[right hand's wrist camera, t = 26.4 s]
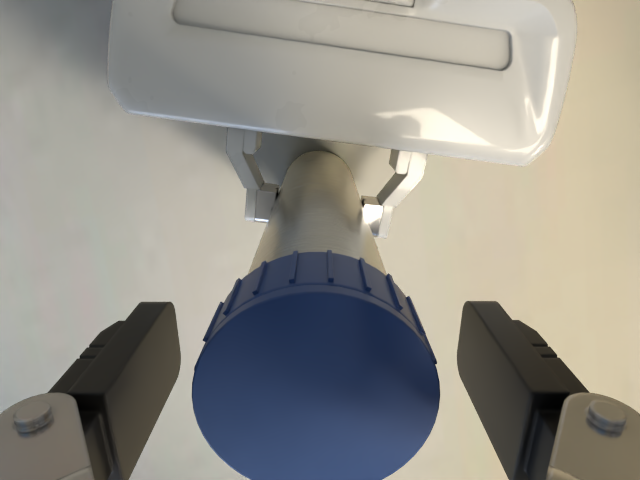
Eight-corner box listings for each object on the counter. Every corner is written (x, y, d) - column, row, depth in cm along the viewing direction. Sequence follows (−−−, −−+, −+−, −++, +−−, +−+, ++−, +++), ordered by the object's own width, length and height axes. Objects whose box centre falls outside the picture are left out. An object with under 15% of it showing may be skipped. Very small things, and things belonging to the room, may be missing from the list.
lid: (202, 410, 12) (177, 480, 10) (225, 228, 10) (200, 265, 8) (391, 439, 12) (406, 512, 10) (445, 268, 10) (477, 314, 8)
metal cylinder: (319, 230, 29) (319, 483, 11) (270, 186, 28) (175, 380, 10) (367, 183, 28) (457, 374, 10) (317, 135, 27) (312, 245, 9)
